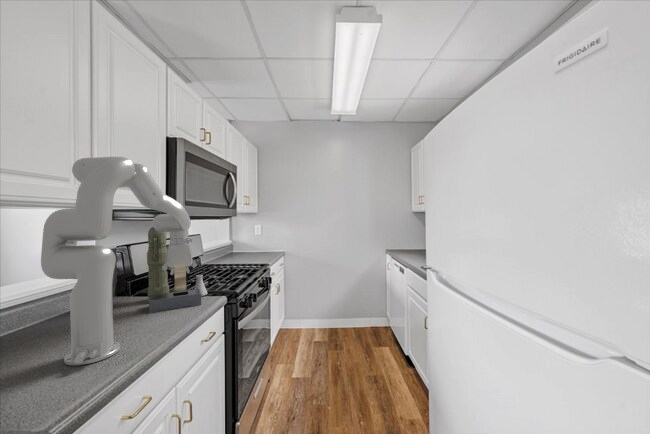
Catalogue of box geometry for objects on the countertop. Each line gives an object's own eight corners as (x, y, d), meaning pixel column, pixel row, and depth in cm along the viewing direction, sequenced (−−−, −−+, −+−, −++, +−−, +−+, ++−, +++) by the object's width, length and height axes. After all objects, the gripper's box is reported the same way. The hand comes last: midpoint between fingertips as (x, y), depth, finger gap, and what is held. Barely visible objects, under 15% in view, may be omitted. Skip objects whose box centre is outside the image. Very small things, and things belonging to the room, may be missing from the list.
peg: (186, 289, 129) (185, 263, 129) (174, 291, 127) (174, 264, 127) (185, 287, 133) (185, 261, 133) (174, 289, 131) (174, 262, 131)
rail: (201, 304, 129) (201, 293, 129) (149, 312, 120) (148, 300, 120) (199, 299, 138) (198, 288, 138) (150, 306, 128) (150, 295, 128)
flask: (210, 293, 149) (209, 274, 149) (202, 297, 141) (202, 276, 141) (197, 293, 149) (196, 274, 149) (188, 297, 142) (188, 276, 142)
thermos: (169, 295, 146) (168, 226, 146) (168, 301, 135) (166, 227, 135) (149, 298, 142) (147, 227, 142) (146, 304, 131) (144, 227, 131)
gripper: (198, 240, 137) (199, 278, 137) (157, 242, 129) (158, 283, 129) (200, 241, 130) (201, 281, 130) (157, 243, 122) (158, 286, 122)
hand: (180, 282), depth 130 cm, fingers closed on peg, 4 cm apart
